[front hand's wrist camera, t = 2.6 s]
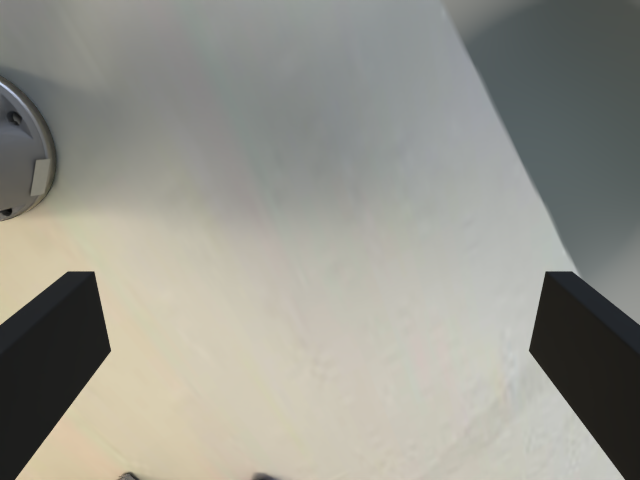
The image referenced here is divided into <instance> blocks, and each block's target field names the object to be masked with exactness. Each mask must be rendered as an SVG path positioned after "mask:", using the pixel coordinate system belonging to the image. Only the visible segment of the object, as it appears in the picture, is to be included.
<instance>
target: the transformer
mask: <svg viewBox="0 0 640 480" xmlns="http://www.w3.org/2000/svg"><path fill="white" fill-rule="evenodd" d="M120 477H123V478H122V479H120V480H135V479H134V478H133V477H132V476H131V475H130V474H125V475H122V476H120Z"/></svg>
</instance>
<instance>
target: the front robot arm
mask: <svg viewBox="0 0 640 480" xmlns="http://www.w3.org/2000/svg"><path fill="white" fill-rule="evenodd" d="M55 169H56V154H55V147H54V143H53V139H52V136H51V133H50V131H49V128H48V126H47V124H46V122H45V120H44V118H43V117H42V115H41V114H40V112H39V111H38V109H37V108H36V107H35V105H34V104H33V103H32V102H31V101H30V99H29V98H28V97H27V96H26V95H25V94H24V93H23V92H22V91H21V90H19V89H18V88H17V87H16V86H15V85H13V84H12V83H10V82H9V81H8V80H6V79H4V78H3V77H1V76H0V221H4V220H8V219H11V218H13V217H16V216H18V215H20V214H22V213H24V212H26V211H28V210H30V209H32V208H33V207H35V206H36V205H37V204H38V203H39V202H40V201H41V200H42V199H43V198H44V197H45V196H46V194H47V193H48V191H49V189H50V187H51V185H52V182H53V179H54V175H55ZM110 352H111V348H110V344H109V339H108V334H107V329H106V325H105V320H104V315H103V311H102V306H101V301H100V296H99V292H98V287H97V282H96V277H95V273H94V272H67V273H65V274H64V275H63V276H62V277H60V278H59V279H58V280H57V281H55V282H54V283H53V284H52V285H50V286H49V287H48V288H47V289H45V290H44V291H43V292H42V293H40V294H39V295H38V296H36V297H35V298H34V299H33V300H31V301H30V302H29V303H28V304H26V305H25V306H24V307H23V308H21V309H20V310H19V311H18V312H16V313H15V314H14V315H13V316H11V317H10V318H9V319H8V320H6V321H5V322H4V323H3V324H1V325H0V480H15V479H16V477H17V476H18V475H19V473H20V472H21V471H22V469H23V468H24V467H25V465H26V464H27V463H28V461H29V460H30V459H31V457H32V456H33V455H34V453H35V452H36V451H37V449H38V448H39V447H40V445H41V444H42V443H43V441H44V440H45V439H46V437H47V436H48V435H49V433H50V432H51V431H52V429H53V428H54V427H55V425H56V424H57V423H58V421H59V420H60V419H61V417H62V416H63V415H64V413H65V412H66V411H67V409H68V408H69V407H70V405H71V404H72V403H73V401H74V400H75V398H76V397H77V396H78V394H79V393H80V392H81V390H82V389H83V388H84V386H85V385H86V384H87V382H88V381H89V380H90V378H91V377H92V376H93V374H94V373H95V372H96V370H97V369H98V368H99V366H100V365H101V364H102V362H103V361H104V360H105V358H106V357H107V356H108V354H109V353H110ZM529 352H530V353H531V354H532V356H533V357H534V358H535V360H536V361H537V362H538V364H539V365H540V366H541V368H542V369H543V370H544V372H545V373H546V374H547V376H548V377H549V378H550V380H551V381H552V382H553V384H554V385H555V386H556V388H557V389H558V390H559V392H560V393H561V394H562V396H563V397H564V399H565V400H566V401H567V403H568V404H569V405H570V407H571V408H572V409H573V411H574V412H575V413H576V415H577V416H578V417H579V419H580V420H581V421H582V423H583V424H584V425H585V427H586V428H587V429H588V431H589V432H590V433H591V435H592V436H593V437H594V439H595V440H596V441H597V443H598V444H599V445H600V447H601V448H602V449H603V451H604V452H605V453H606V455H607V456H608V457H609V459H610V460H611V461H612V463H613V464H614V465H615V467H616V468H617V469H618V471H619V472H620V473H621V475H622V476H623V477H624V479H625V480H640V325H639V324H637V323H636V322H635V321H634V320H632V319H631V318H630V317H629V316H627V315H626V314H625V313H624V312H622V311H621V310H620V309H619V308H617V307H616V306H615V305H614V304H612V303H611V302H610V301H609V300H607V299H606V298H605V297H604V296H602V295H601V294H600V293H598V292H597V291H596V290H595V289H593V288H592V287H591V286H590V285H588V284H587V283H586V282H585V281H583V280H582V279H581V278H580V277H578V276H577V275H576V274H575V273H573V272H546V273H545V277H544V282H543V287H542V292H541V296H540V301H539V306H538V311H537V315H536V320H535V325H534V329H533V334H532V339H531V344H530V348H529Z"/></svg>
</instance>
